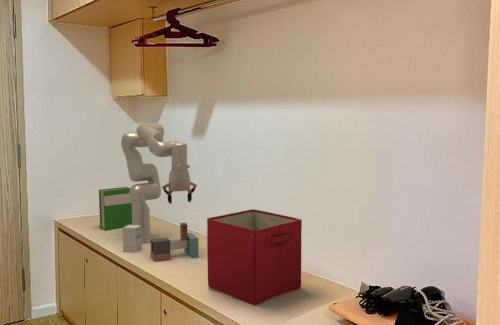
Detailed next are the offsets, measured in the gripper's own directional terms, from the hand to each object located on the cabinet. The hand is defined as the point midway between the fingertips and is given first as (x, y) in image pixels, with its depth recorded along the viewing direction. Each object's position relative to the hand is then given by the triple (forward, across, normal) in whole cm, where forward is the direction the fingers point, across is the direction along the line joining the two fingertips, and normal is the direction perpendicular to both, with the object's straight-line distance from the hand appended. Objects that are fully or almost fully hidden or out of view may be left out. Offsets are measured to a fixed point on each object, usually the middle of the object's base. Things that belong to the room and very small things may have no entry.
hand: (179, 202), depth 254 cm
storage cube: (+26, -14, +59) cm, 66 cm away
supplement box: (+27, +20, -18) cm, 38 cm away
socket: (+26, -5, +2) cm, 27 cm away
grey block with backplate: (+26, +10, +2) cm, 28 cm away
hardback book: (+28, +19, -74) cm, 82 cm away
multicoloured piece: (+22, +2, +2) cm, 23 cm away
